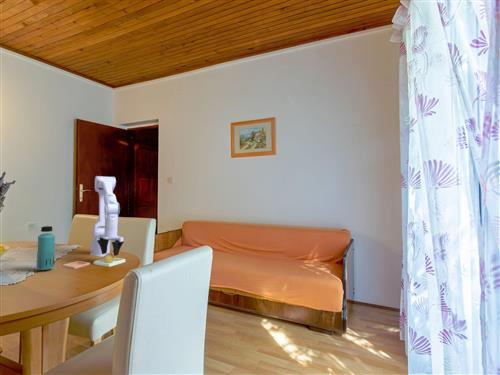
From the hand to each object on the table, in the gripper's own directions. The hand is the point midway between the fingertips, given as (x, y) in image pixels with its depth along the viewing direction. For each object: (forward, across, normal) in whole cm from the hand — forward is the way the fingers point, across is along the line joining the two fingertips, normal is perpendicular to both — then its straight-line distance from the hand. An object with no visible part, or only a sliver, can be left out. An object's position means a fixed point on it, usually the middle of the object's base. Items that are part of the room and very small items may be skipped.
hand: (110, 254), depth 136 cm
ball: (+4, 0, 0) cm, 4 cm away
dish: (+5, -10, -10) cm, 15 cm away
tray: (+5, 0, 0) cm, 5 cm away
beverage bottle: (+5, -15, -21) cm, 26 cm away
